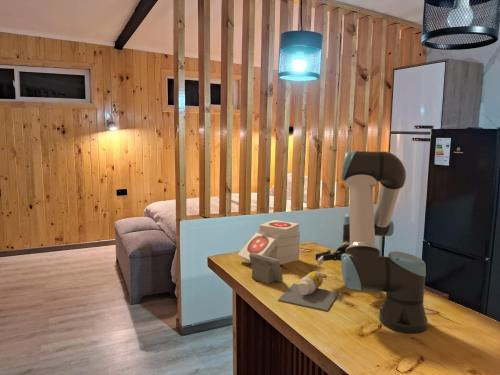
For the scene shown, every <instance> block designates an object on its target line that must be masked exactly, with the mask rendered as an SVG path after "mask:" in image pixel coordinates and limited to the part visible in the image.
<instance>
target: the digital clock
mask: <svg viewBox="0 0 500 375" xmlns="http://www.w3.org/2000/svg"><path fill="white" fill-rule="evenodd" d="M249 257H250V261H251V263H250V265H251V279H252V280H255V281H258V282H261V283H264V284H267V285H269V284H271V283H273V282H279V283H281V282H283V280H284V279H283V278H284V277H283V274H282V269H281V264H280V263H279V260H277V259H274V258H270V257H267V256H263V255H259V254H256V253H250V255H249Z"/></svg>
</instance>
